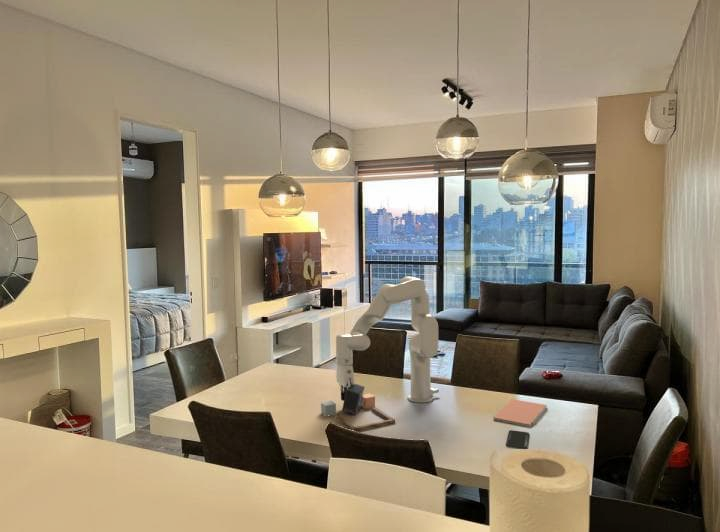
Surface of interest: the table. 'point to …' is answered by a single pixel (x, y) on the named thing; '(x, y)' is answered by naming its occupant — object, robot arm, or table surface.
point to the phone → (517, 439)
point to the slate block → (328, 408)
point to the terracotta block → (368, 401)
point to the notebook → (521, 413)
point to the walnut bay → (368, 426)
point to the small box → (353, 399)
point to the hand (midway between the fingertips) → (344, 399)
